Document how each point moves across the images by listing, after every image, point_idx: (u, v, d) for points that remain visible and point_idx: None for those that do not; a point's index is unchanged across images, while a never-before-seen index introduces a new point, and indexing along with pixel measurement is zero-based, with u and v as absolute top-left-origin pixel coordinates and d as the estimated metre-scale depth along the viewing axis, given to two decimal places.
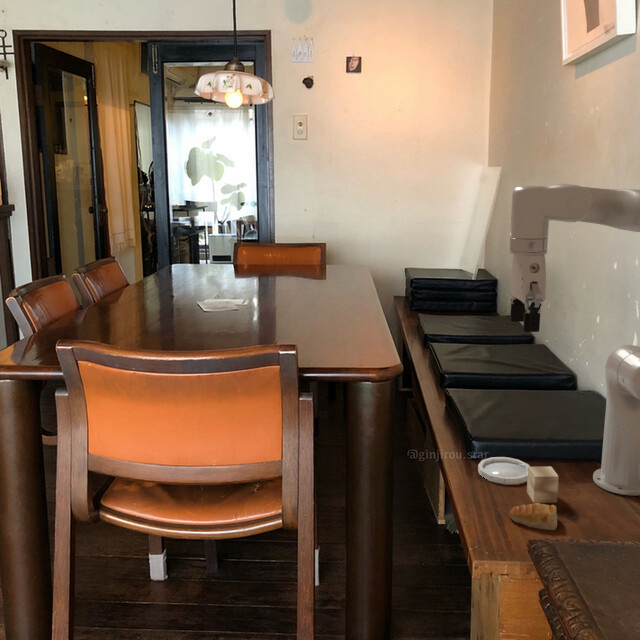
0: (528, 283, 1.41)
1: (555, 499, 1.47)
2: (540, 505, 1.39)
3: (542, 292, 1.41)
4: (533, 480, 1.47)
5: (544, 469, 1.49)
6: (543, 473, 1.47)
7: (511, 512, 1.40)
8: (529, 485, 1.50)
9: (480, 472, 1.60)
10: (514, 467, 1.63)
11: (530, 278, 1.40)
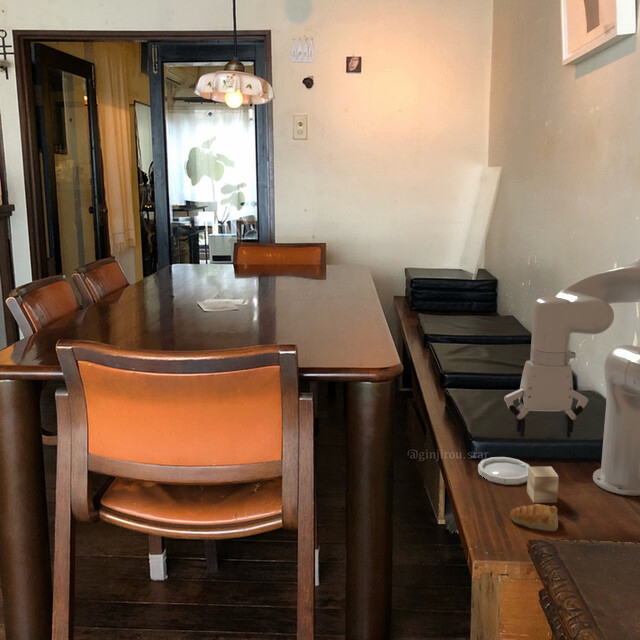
0: None
1: (555, 499, 1.47)
2: (541, 506, 1.39)
3: None
4: (533, 480, 1.47)
5: (544, 469, 1.49)
6: (543, 473, 1.47)
7: (512, 513, 1.39)
8: (529, 485, 1.50)
9: (480, 472, 1.60)
10: (514, 467, 1.63)
11: None
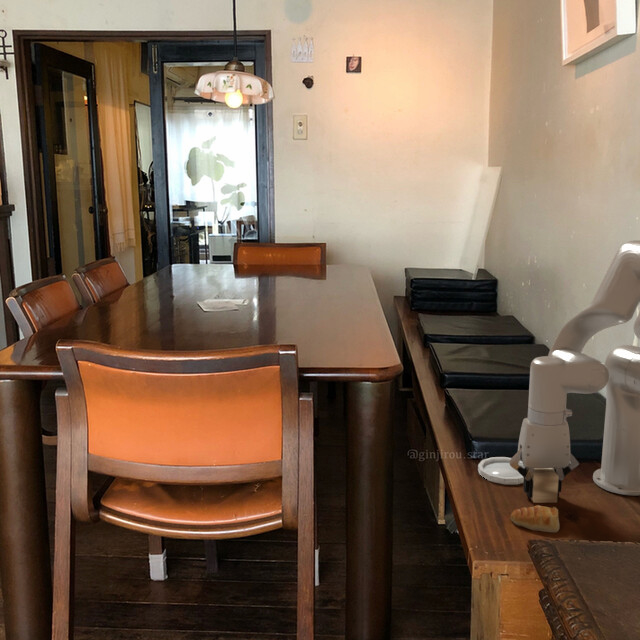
0: None
1: (555, 499, 1.47)
2: (542, 508, 1.38)
3: None
4: (533, 480, 1.47)
5: (544, 469, 1.49)
6: (543, 473, 1.47)
7: (513, 515, 1.38)
8: None
9: (480, 472, 1.60)
10: None
11: None
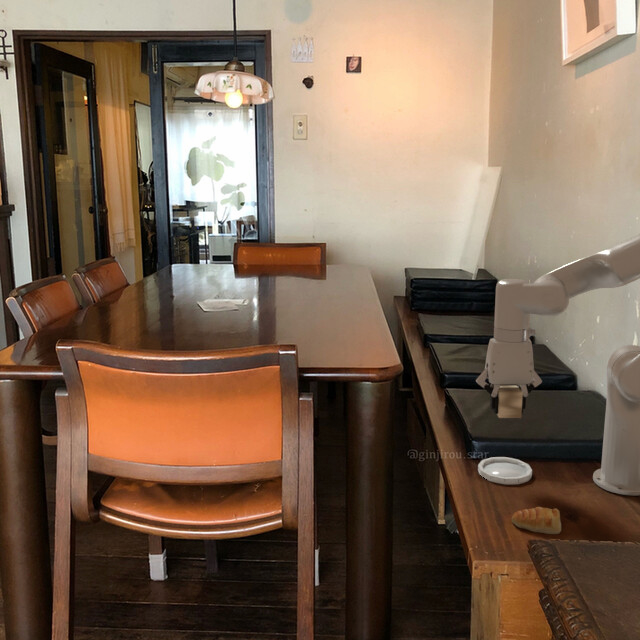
0: None
1: (519, 414, 1.56)
2: (543, 509, 1.37)
3: None
4: (499, 396, 1.55)
5: (509, 387, 1.58)
6: (508, 390, 1.56)
7: (514, 517, 1.38)
8: None
9: (480, 472, 1.60)
10: (514, 467, 1.63)
11: None
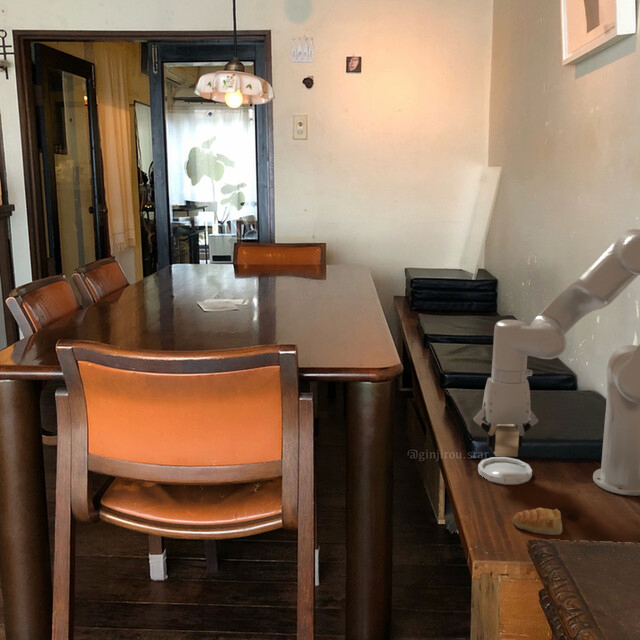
0: None
1: (516, 453, 1.58)
2: (544, 510, 1.37)
3: None
4: (496, 435, 1.57)
5: (506, 425, 1.60)
6: (505, 429, 1.58)
7: (515, 518, 1.37)
8: None
9: (480, 472, 1.60)
10: (514, 467, 1.63)
11: None
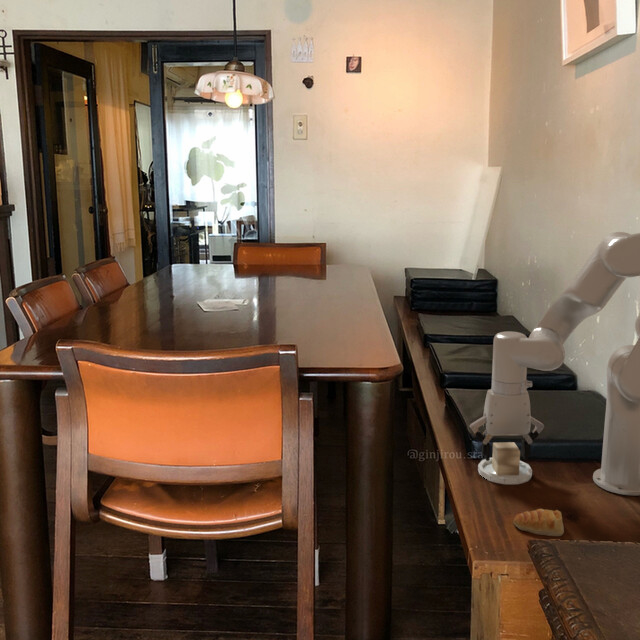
0: None
1: (517, 472, 1.59)
2: (545, 511, 1.37)
3: None
4: (497, 454, 1.58)
5: (507, 444, 1.61)
6: (506, 448, 1.59)
7: (516, 520, 1.37)
8: (493, 460, 1.62)
9: (480, 472, 1.60)
10: None
11: None
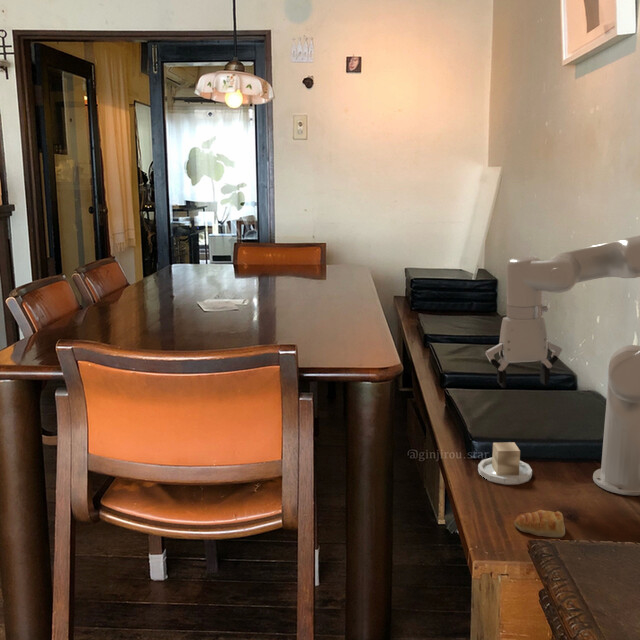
0: None
1: (517, 472, 1.59)
2: (546, 512, 1.36)
3: None
4: (497, 454, 1.58)
5: (507, 444, 1.61)
6: (506, 448, 1.59)
7: (517, 521, 1.36)
8: (493, 460, 1.62)
9: (480, 472, 1.60)
10: None
11: None
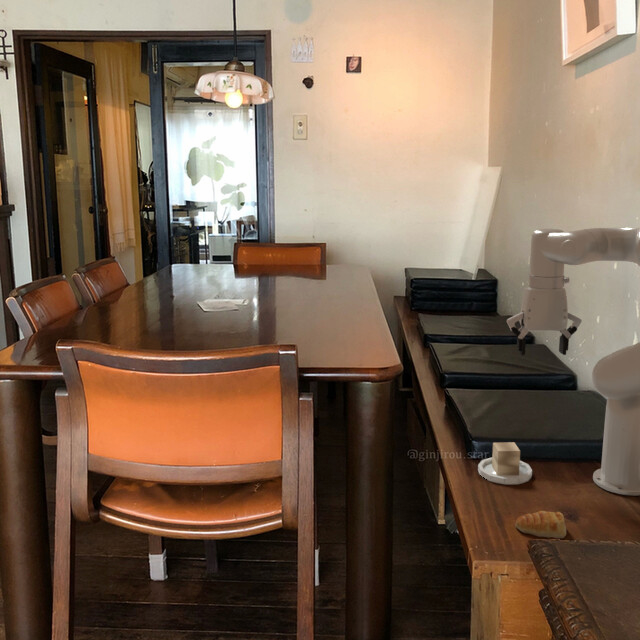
0: None
1: (517, 472, 1.59)
2: (547, 513, 1.36)
3: None
4: (497, 454, 1.58)
5: (507, 444, 1.61)
6: (506, 448, 1.59)
7: (518, 523, 1.36)
8: (493, 460, 1.62)
9: (480, 472, 1.60)
10: None
11: None
